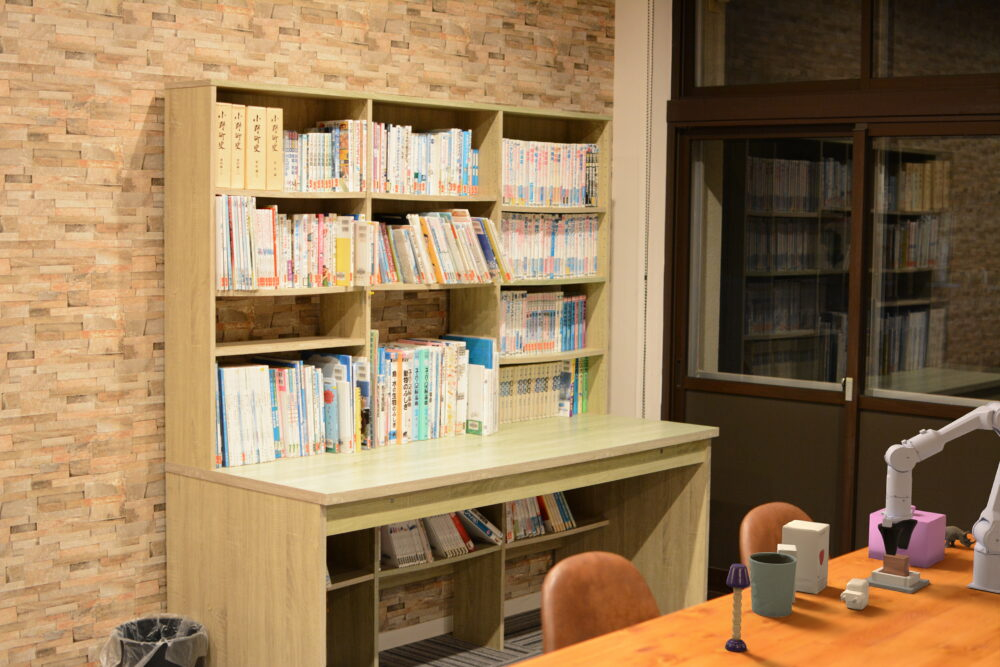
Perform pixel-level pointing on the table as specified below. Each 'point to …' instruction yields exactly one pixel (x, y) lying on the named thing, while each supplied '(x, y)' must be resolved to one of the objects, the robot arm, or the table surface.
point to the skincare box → (790, 551)
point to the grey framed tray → (897, 581)
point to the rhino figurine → (956, 537)
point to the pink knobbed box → (913, 538)
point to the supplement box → (809, 553)
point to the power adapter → (856, 594)
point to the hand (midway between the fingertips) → (896, 551)
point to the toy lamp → (737, 604)
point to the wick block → (896, 565)
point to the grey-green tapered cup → (772, 583)
